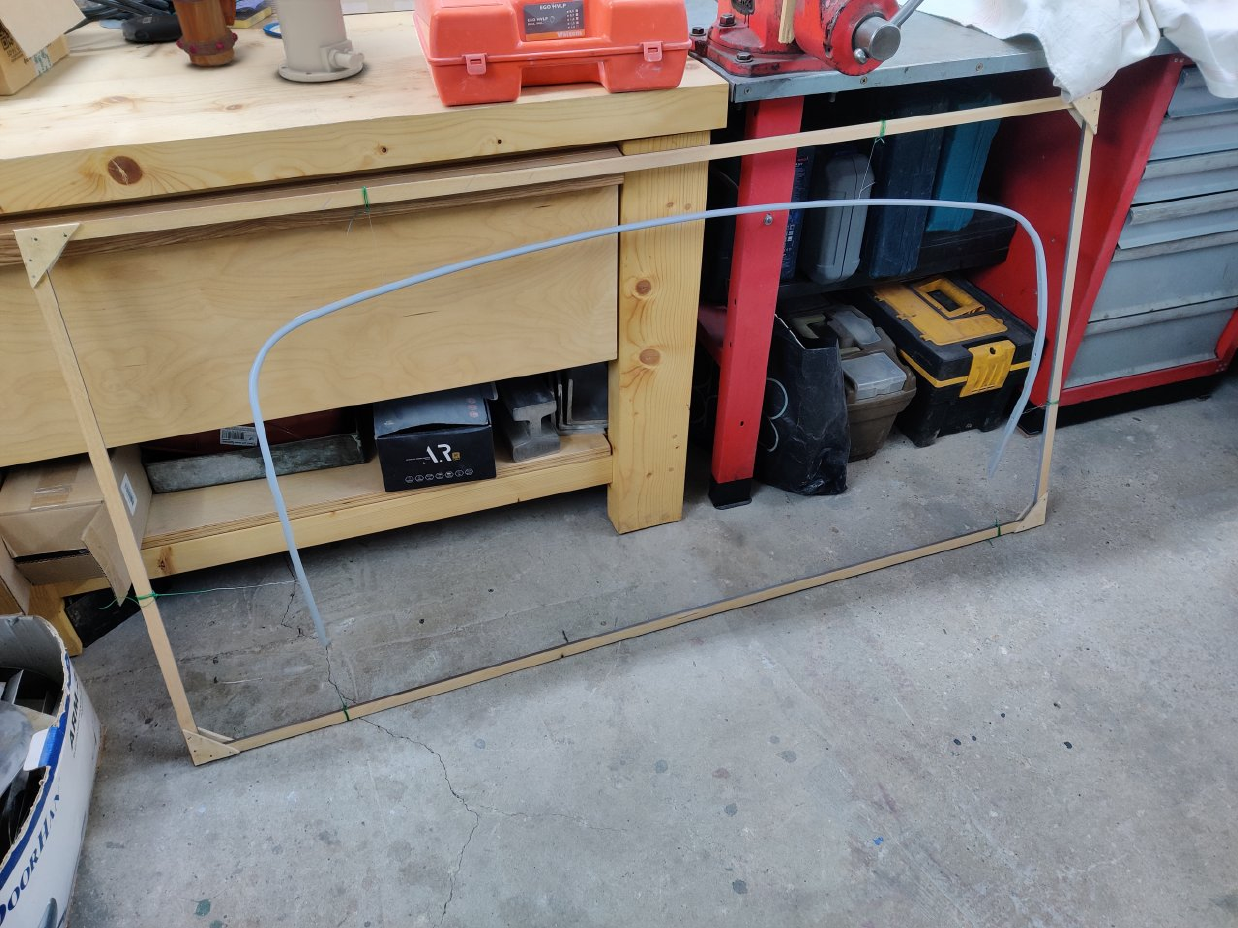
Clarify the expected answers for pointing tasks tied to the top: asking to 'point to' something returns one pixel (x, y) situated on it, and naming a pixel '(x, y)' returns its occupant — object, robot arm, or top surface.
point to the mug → (207, 30)
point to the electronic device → (152, 28)
